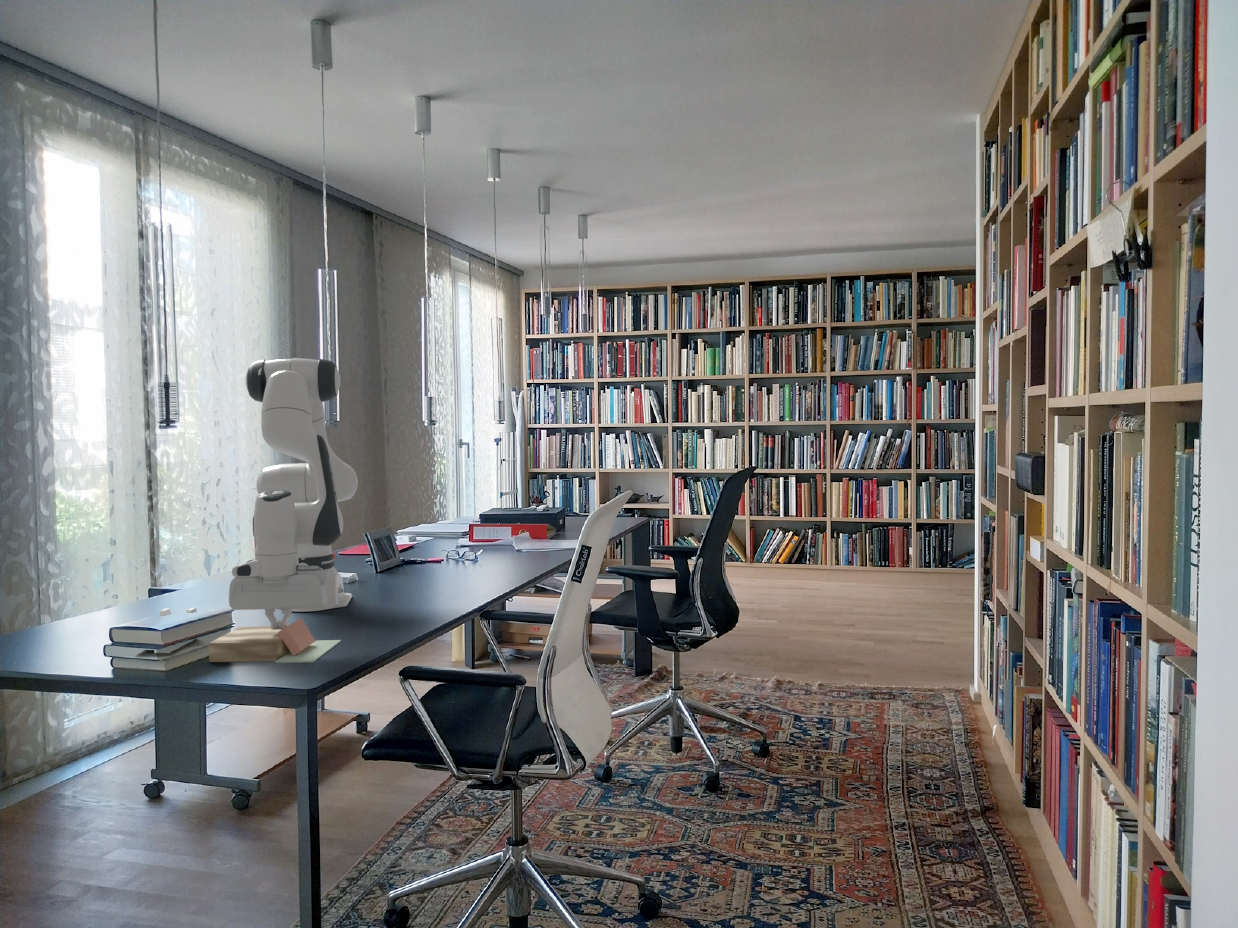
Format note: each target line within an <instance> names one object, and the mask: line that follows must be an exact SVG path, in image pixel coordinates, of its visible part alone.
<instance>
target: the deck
mask: <svg viewBox="0 0 1238 928" xmlns="http://www.w3.org/2000/svg"><path fill="white" fill-rule="evenodd" d="M279 631H281V630H272V629H271V625H270V626H269V625H268V626H267V625H266V626H239V627H236V628H234V629H232V630H231V631H229V632H227V633H225V634H223V635H221V636H220V637H218V638H216V639H214V640H212V641H210V642H208V656H209V657H208V659H209V661H208V662H209V663H232V662H233V663H238V662H241V663H242V662H246V663H247V662H254V663H255V662H275V661H277V660H278V659H280V658H281V657H283V656H284V655H286V654H287V653H289V652H290V650H289V649H288V647H287V646H286V644H285V642H284V641H283V639H282V638H281V636H280V635H279V633H278V632H279Z"/></svg>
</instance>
